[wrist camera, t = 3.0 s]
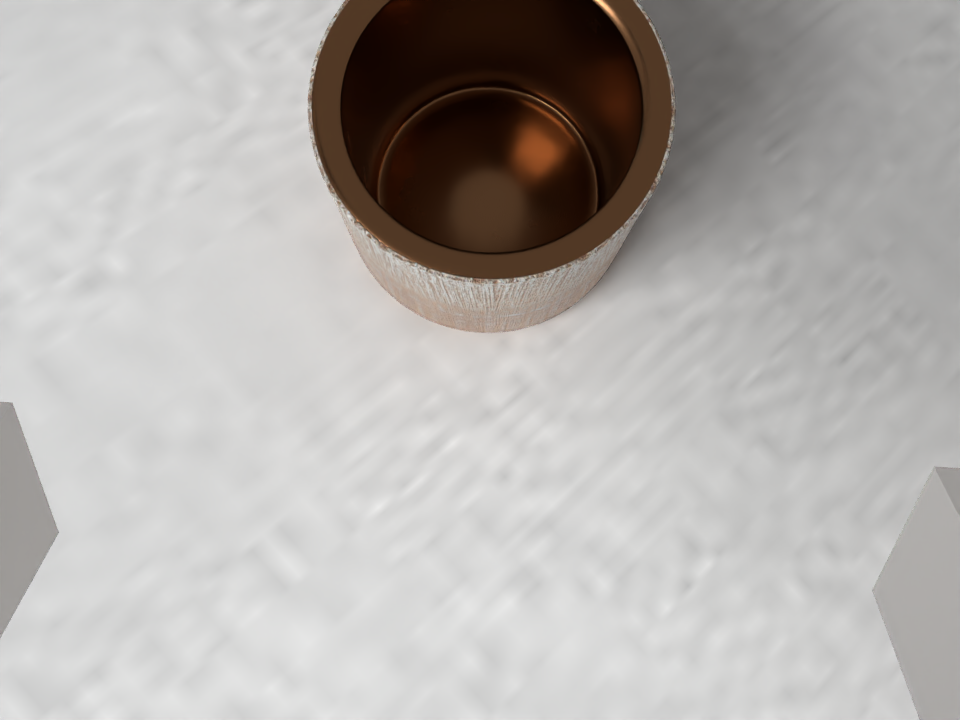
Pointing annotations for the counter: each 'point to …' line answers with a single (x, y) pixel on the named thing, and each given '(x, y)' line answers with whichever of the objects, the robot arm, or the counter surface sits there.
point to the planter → (490, 147)
